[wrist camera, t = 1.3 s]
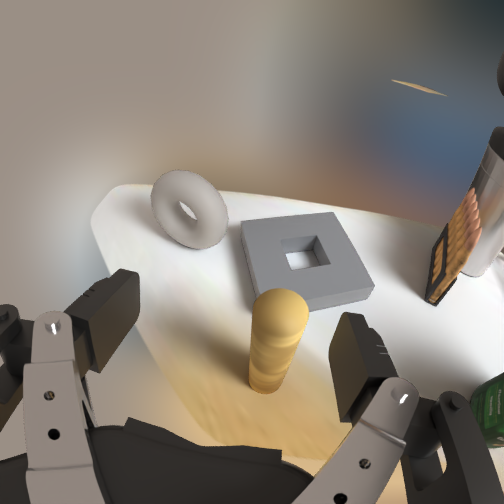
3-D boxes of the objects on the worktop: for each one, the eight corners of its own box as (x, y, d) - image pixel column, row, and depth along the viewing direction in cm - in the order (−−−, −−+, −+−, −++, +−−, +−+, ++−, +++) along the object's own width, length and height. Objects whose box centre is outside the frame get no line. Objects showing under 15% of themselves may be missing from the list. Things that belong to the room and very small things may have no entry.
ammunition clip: (432, 247, 36) (467, 181, 27) (442, 252, 35) (478, 187, 26) (424, 301, 29) (474, 228, 21) (436, 307, 29) (488, 236, 20)
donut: (235, 247, 34) (234, 176, 27) (220, 266, 32) (215, 194, 25) (170, 222, 37) (157, 156, 30) (154, 238, 35) (136, 171, 28)
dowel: (277, 360, 25) (299, 284, 16) (285, 390, 23) (316, 330, 14) (245, 366, 24) (247, 292, 16) (252, 396, 22) (259, 341, 14)
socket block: (329, 226, 38) (333, 211, 36) (367, 299, 30) (374, 285, 28) (240, 236, 36) (240, 221, 34) (262, 320, 28) (263, 307, 26)
